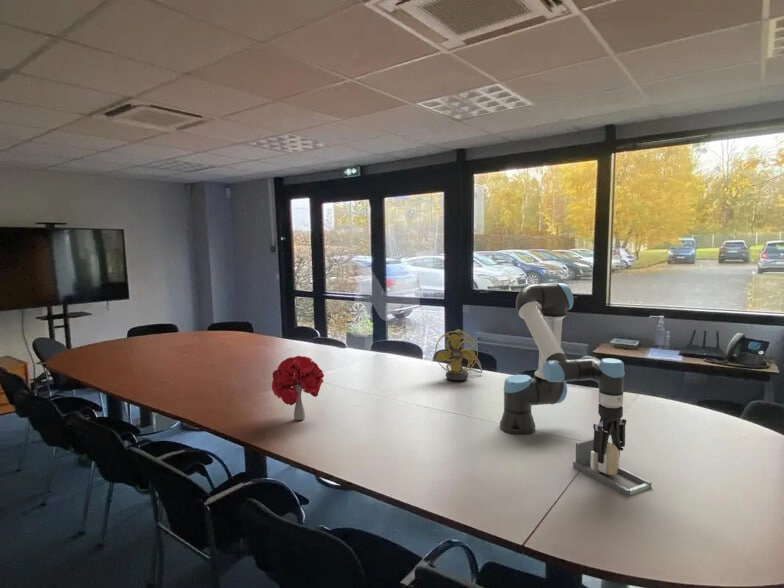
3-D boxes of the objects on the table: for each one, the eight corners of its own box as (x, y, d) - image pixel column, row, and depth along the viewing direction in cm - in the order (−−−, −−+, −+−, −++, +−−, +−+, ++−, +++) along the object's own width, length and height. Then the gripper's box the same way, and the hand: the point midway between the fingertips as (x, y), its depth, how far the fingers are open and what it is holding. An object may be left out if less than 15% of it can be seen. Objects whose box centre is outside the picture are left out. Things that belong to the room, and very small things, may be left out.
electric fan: (434, 379, 273) (433, 330, 270) (445, 366, 303) (444, 322, 300) (477, 383, 265) (477, 332, 262) (484, 368, 295) (484, 323, 292)
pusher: (590, 473, 159) (590, 451, 158) (606, 467, 162) (607, 446, 161) (593, 474, 158) (593, 452, 157) (609, 469, 161) (610, 447, 160)
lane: (572, 467, 164) (573, 443, 163) (595, 460, 168) (596, 436, 167) (627, 496, 144) (628, 469, 143) (651, 488, 149) (652, 461, 148)
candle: (596, 467, 159) (597, 440, 158) (612, 467, 160) (613, 440, 158) (604, 475, 154) (605, 447, 153) (620, 475, 154) (621, 447, 153)
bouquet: (299, 430, 202) (296, 365, 198) (263, 420, 214) (260, 358, 211) (331, 415, 220) (329, 354, 216) (296, 406, 232) (293, 349, 229)
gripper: (600, 413, 147) (598, 480, 149) (639, 403, 155) (636, 467, 157) (582, 405, 153) (580, 470, 156) (619, 396, 161) (617, 458, 164)
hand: (608, 468), depth 157 cm, fingers closed on candle, 5 cm apart
